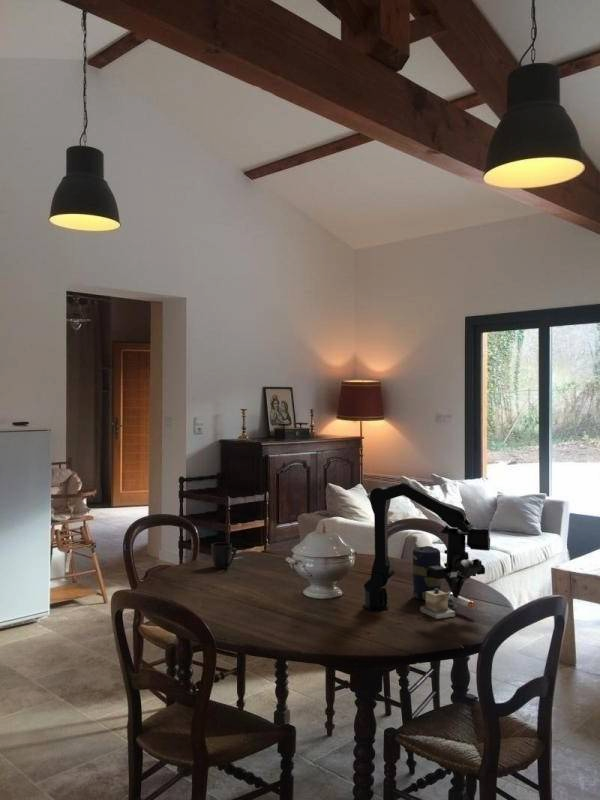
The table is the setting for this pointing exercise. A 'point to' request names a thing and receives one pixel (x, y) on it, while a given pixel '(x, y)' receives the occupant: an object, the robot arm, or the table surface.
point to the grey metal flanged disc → (451, 604)
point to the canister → (425, 570)
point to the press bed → (438, 613)
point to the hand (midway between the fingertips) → (455, 597)
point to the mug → (222, 554)
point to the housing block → (436, 600)
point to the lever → (461, 600)
